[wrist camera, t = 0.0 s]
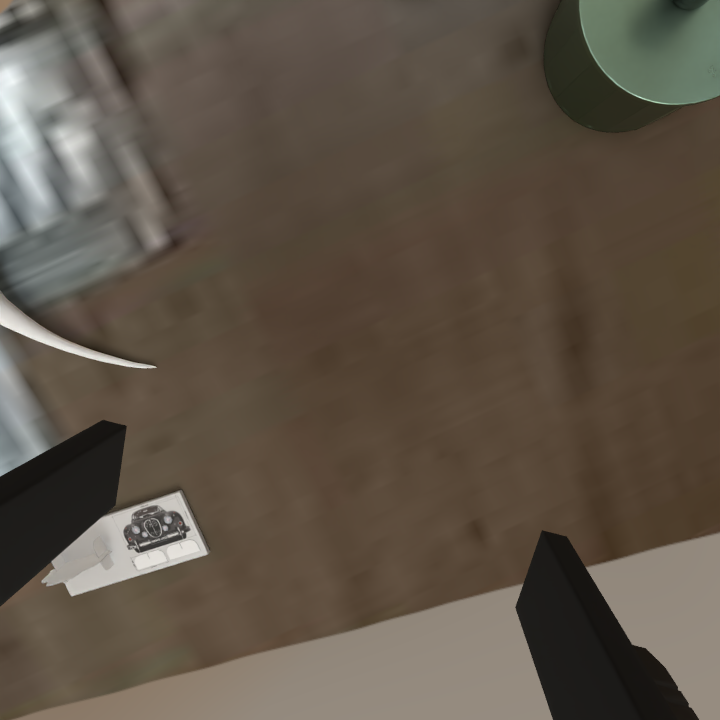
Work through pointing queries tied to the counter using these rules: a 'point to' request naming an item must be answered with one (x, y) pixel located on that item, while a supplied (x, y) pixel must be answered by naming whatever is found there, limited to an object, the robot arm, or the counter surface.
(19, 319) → the dinosaur
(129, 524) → the car cutout
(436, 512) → the counter surface
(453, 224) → the counter surface
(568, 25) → the pot
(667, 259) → the counter surface
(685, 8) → the pot lid
